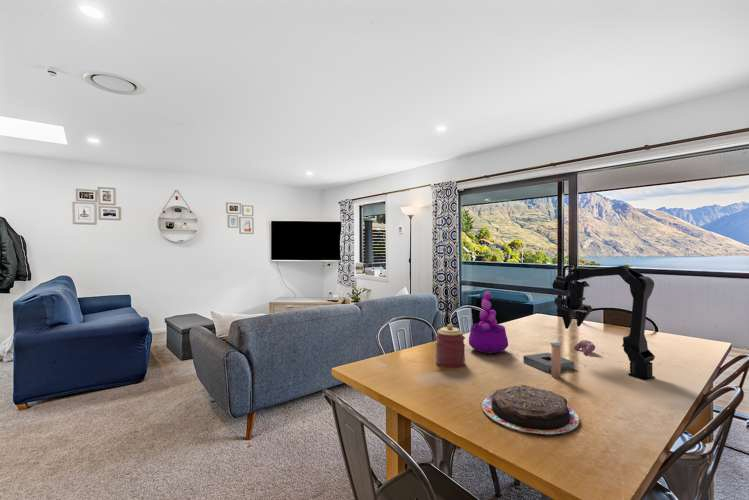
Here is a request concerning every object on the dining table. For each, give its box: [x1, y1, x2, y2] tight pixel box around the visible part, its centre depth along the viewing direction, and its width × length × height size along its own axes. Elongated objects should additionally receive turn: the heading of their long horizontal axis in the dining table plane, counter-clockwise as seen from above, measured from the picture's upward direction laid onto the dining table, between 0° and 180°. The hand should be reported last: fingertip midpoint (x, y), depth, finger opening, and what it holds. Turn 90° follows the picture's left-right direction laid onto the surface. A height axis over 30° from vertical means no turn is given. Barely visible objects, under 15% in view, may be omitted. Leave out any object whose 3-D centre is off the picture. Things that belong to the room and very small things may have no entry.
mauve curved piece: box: [573, 339, 596, 356], centre depth 172 cm, size 10×5×7 cm, turn 179°
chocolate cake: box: [481, 384, 581, 437], centre depth 110 cm, size 28×28×7 cm
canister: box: [434, 323, 466, 368], centre depth 158 cm, size 13×13×18 cm
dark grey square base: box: [523, 352, 575, 374], centre depth 153 cm, size 14×14×3 cm
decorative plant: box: [468, 290, 509, 354], centre depth 175 cm, size 19×18×30 cm
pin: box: [549, 340, 562, 379], centre depth 140 cm, size 4×4×14 cm
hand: (572, 327), depth 163 cm, fingers open, 9 cm apart
